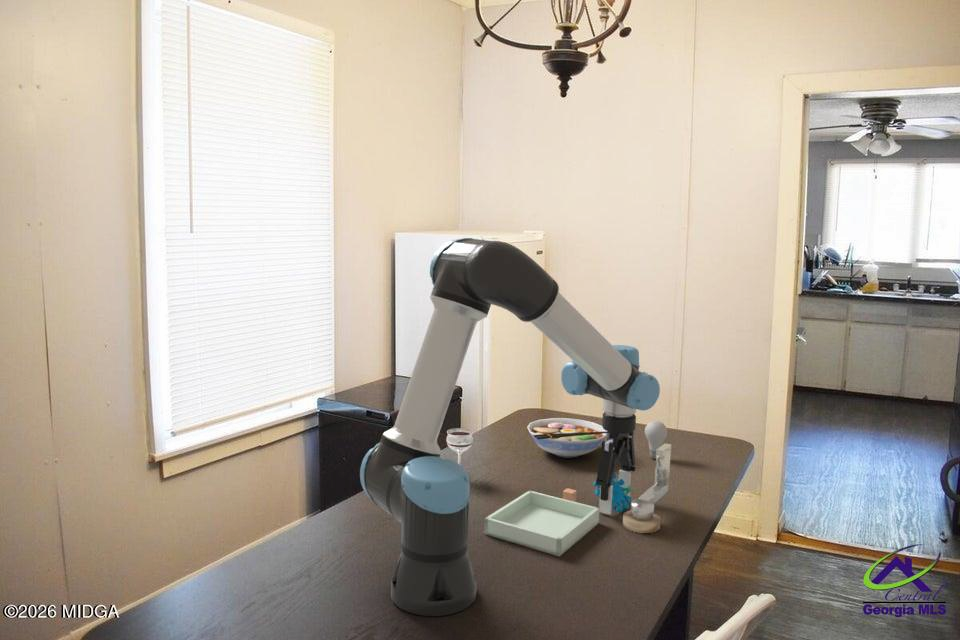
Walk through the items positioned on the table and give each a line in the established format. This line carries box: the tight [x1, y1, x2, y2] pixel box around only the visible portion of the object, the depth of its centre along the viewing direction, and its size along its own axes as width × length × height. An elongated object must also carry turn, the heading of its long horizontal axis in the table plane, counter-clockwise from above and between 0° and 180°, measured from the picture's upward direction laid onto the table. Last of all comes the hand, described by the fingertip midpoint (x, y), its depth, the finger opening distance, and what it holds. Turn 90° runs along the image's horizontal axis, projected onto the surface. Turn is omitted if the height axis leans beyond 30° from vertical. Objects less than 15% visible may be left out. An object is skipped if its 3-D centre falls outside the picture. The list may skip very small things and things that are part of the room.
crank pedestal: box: [622, 510, 661, 534], centre depth 161 cm, size 8×8×2 cm
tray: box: [483, 490, 600, 557], centre depth 159 cm, size 20×18×4 cm
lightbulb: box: [644, 420, 668, 460], centre depth 206 cm, size 6×6×11 cm
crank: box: [629, 442, 672, 521], centre depth 166 cm, size 18×5×12 cm, turn 148°
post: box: [561, 487, 577, 502], centre depth 171 cm, size 2×2×4 cm
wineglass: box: [446, 427, 474, 465], centre depth 187 cm, size 7×7×12 cm
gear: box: [593, 473, 633, 513], centre depth 173 cm, size 11×6×10 cm
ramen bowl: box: [526, 417, 609, 459], centre depth 209 cm, size 25×23×8 cm
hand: (614, 504), depth 172 cm, fingers closed on gear, 11 cm apart
